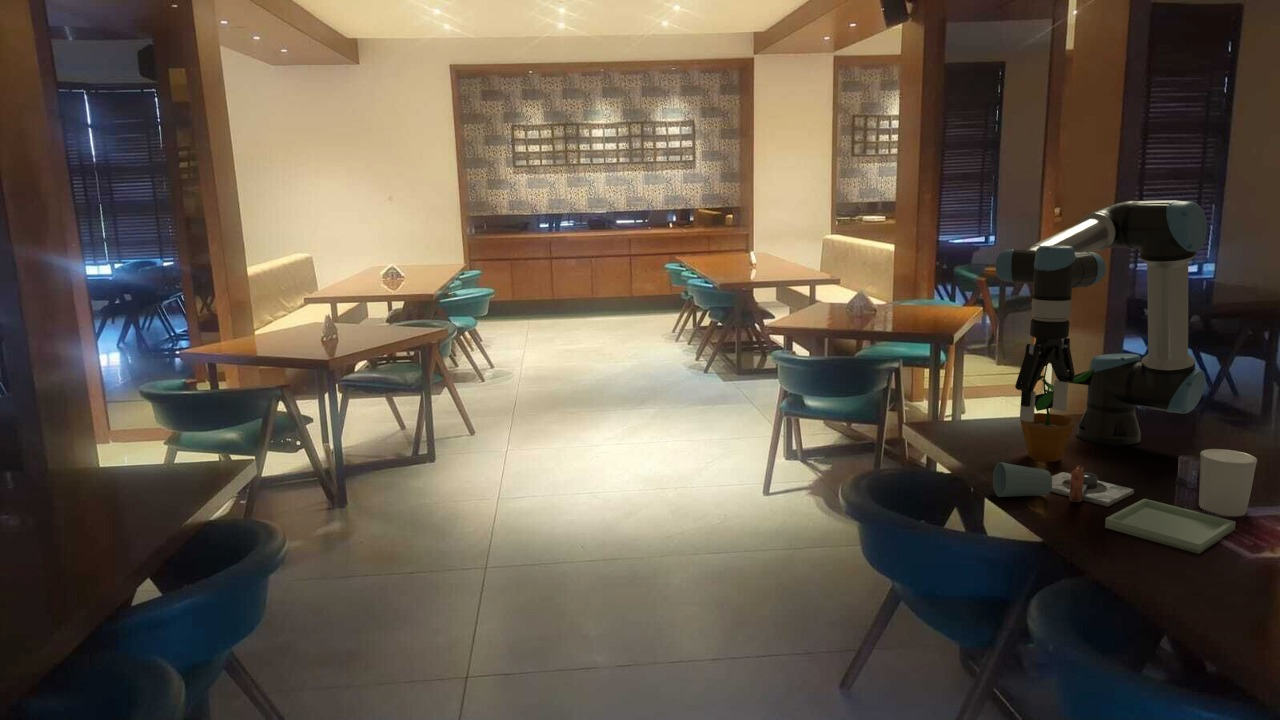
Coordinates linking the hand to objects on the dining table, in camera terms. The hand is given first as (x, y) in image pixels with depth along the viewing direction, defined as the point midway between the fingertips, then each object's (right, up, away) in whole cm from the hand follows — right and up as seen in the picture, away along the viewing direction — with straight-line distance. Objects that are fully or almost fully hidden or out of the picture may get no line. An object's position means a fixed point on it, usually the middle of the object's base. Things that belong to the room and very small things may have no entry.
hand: (1043, 415), depth 187 cm
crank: (+9, -17, +2) cm, 20 cm away
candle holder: (+35, -20, -6) cm, 41 cm away
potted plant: (+15, -13, +31) cm, 37 cm away
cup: (+1, -19, +4) cm, 20 cm away
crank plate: (+13, -18, +7) cm, 23 cm away
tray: (+18, -22, -15) cm, 32 cm away
